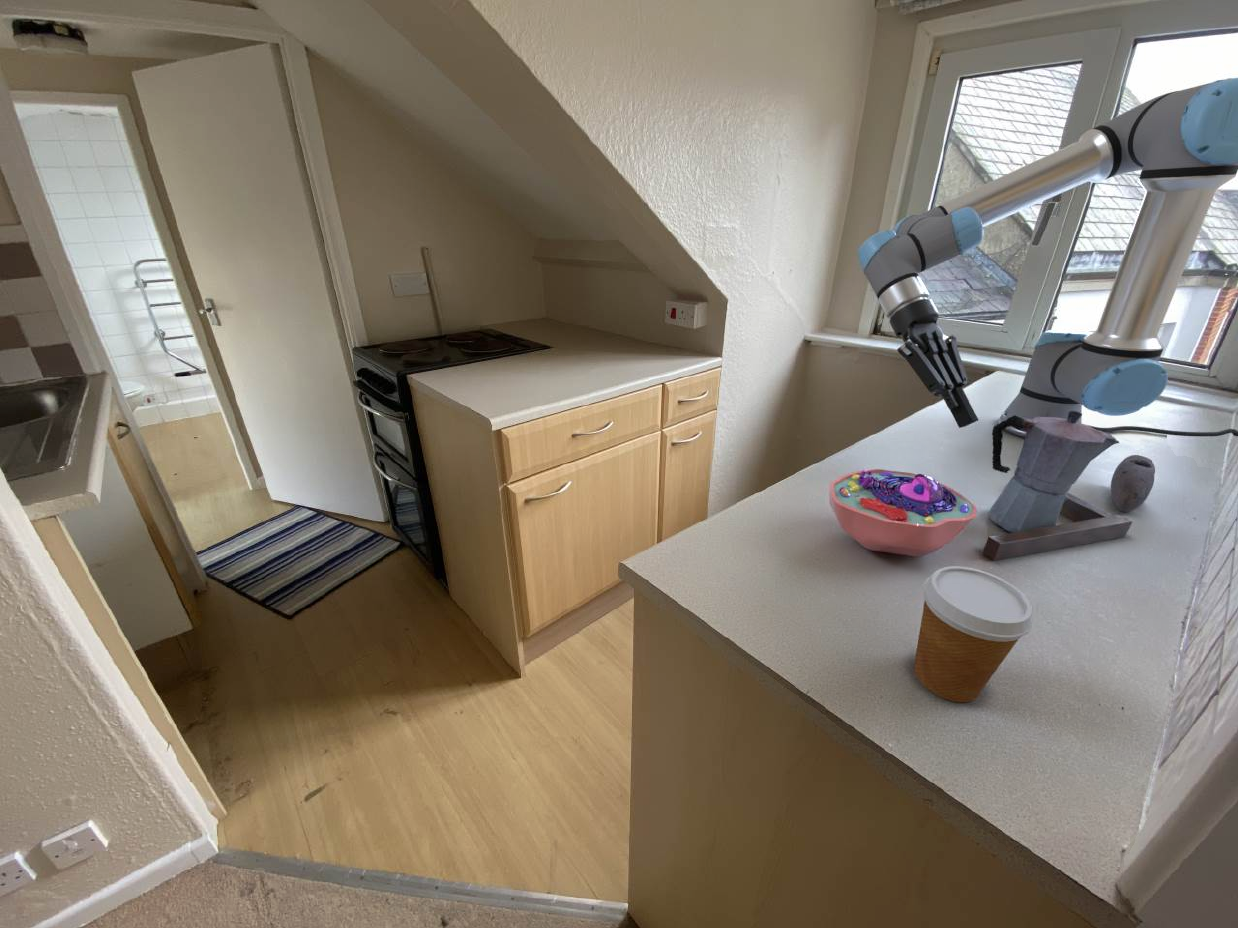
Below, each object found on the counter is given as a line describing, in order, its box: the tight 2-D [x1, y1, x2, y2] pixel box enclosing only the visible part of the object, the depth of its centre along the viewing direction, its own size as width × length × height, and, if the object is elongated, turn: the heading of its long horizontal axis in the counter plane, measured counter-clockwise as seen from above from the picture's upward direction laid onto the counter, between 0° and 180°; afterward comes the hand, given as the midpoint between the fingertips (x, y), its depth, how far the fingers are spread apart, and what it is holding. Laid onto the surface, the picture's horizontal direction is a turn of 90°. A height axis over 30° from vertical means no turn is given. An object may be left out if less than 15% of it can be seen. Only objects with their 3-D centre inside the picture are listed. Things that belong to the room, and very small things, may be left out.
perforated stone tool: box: [1110, 454, 1156, 512], centre depth 92 cm, size 15×5×7 cm, turn 135°
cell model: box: [828, 468, 978, 557], centre depth 79 cm, size 17×20×11 cm
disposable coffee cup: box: [913, 565, 1034, 703], centre depth 55 cm, size 10×10×12 cm
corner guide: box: [981, 492, 1133, 562], centre depth 87 cm, size 26×17×3 cm, turn 105°
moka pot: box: [987, 411, 1120, 533], centre depth 82 cm, size 10×15×20 cm, turn 72°
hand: (968, 424), depth 91 cm, fingers closed
